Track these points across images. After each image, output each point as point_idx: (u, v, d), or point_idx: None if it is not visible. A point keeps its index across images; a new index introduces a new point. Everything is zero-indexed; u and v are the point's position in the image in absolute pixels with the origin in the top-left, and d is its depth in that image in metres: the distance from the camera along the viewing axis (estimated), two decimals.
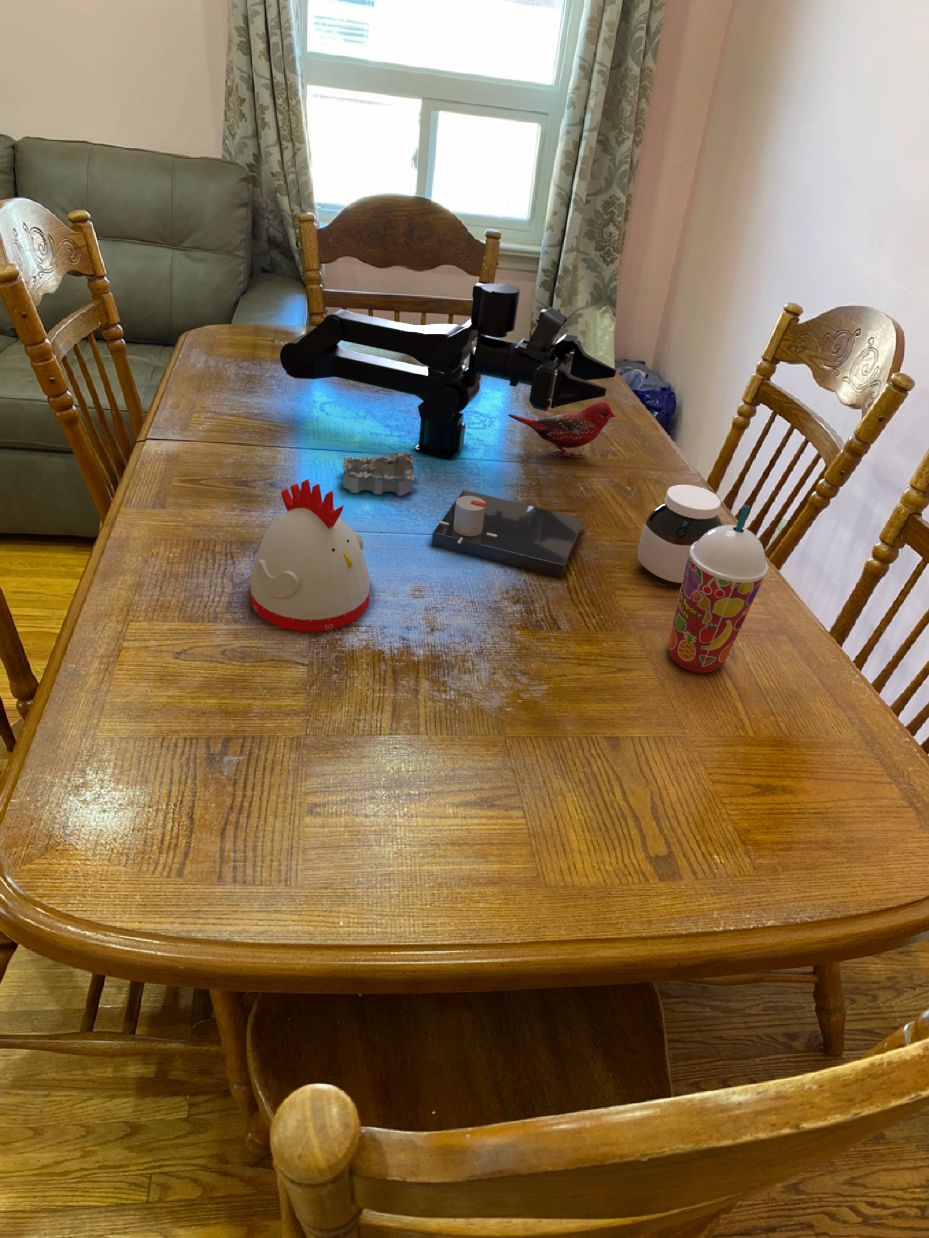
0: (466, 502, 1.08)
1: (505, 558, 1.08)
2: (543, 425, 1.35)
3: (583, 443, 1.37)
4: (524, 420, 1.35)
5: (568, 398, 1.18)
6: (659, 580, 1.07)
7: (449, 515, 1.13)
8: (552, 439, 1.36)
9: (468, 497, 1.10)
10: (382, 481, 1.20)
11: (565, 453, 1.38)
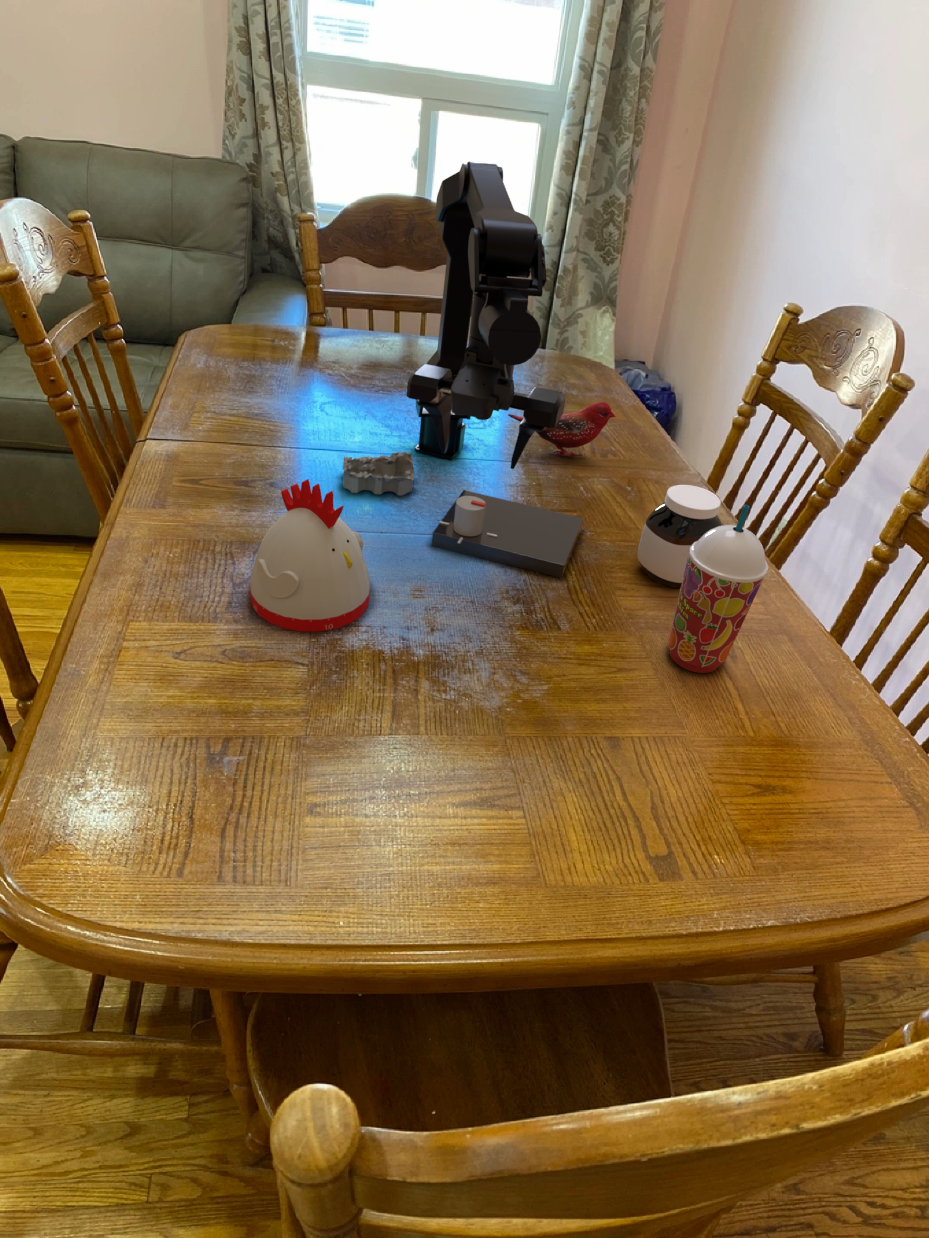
0: (466, 502, 1.08)
1: (505, 558, 1.08)
2: None
3: (583, 443, 1.37)
4: None
5: None
6: (659, 580, 1.07)
7: (449, 515, 1.13)
8: (552, 439, 1.36)
9: (468, 497, 1.10)
10: (382, 481, 1.20)
11: (565, 453, 1.38)
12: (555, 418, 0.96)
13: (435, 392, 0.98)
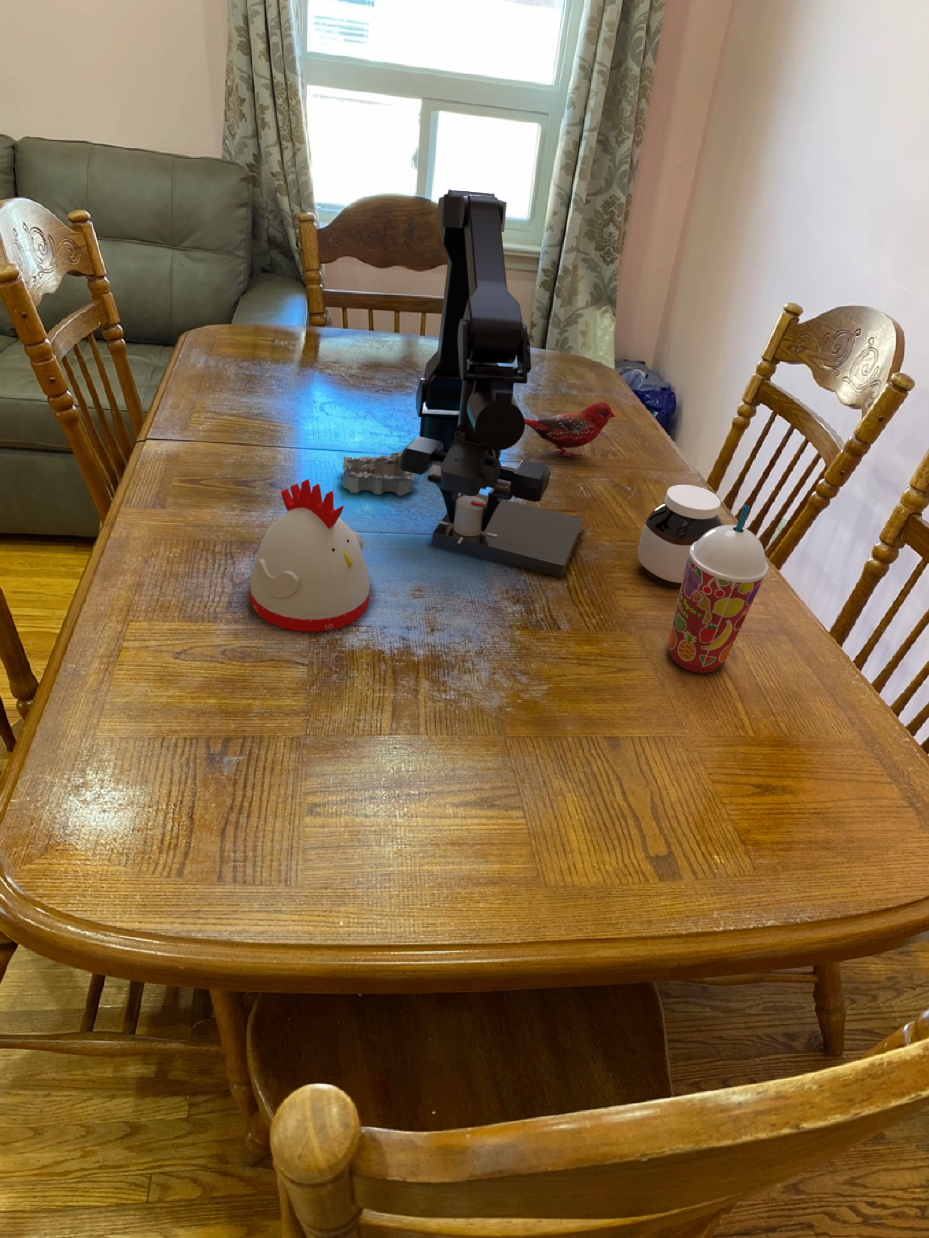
0: (466, 502, 1.08)
1: (505, 558, 1.08)
2: (543, 425, 1.35)
3: (583, 443, 1.37)
4: (524, 420, 1.35)
5: None
6: (659, 580, 1.07)
7: None
8: (552, 439, 1.36)
9: (468, 497, 1.10)
10: (382, 481, 1.20)
11: (565, 453, 1.38)
12: (540, 493, 1.02)
13: (427, 466, 1.04)
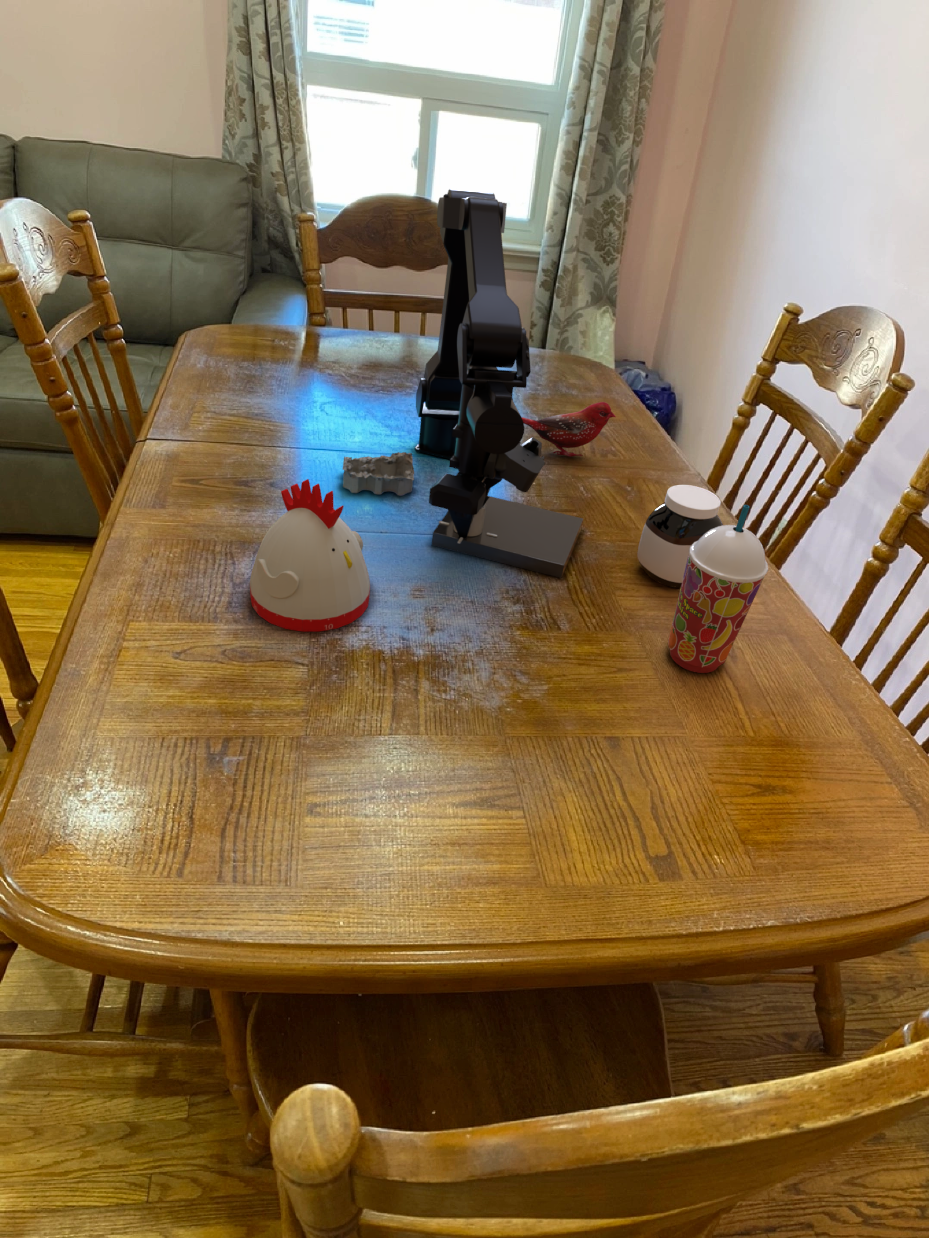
0: None
1: (505, 558, 1.08)
2: (543, 425, 1.35)
3: (583, 443, 1.37)
4: (524, 420, 1.35)
5: None
6: (659, 580, 1.07)
7: (449, 515, 1.13)
8: (552, 439, 1.36)
9: None
10: (382, 481, 1.20)
11: (565, 453, 1.38)
12: None
13: (485, 493, 1.01)
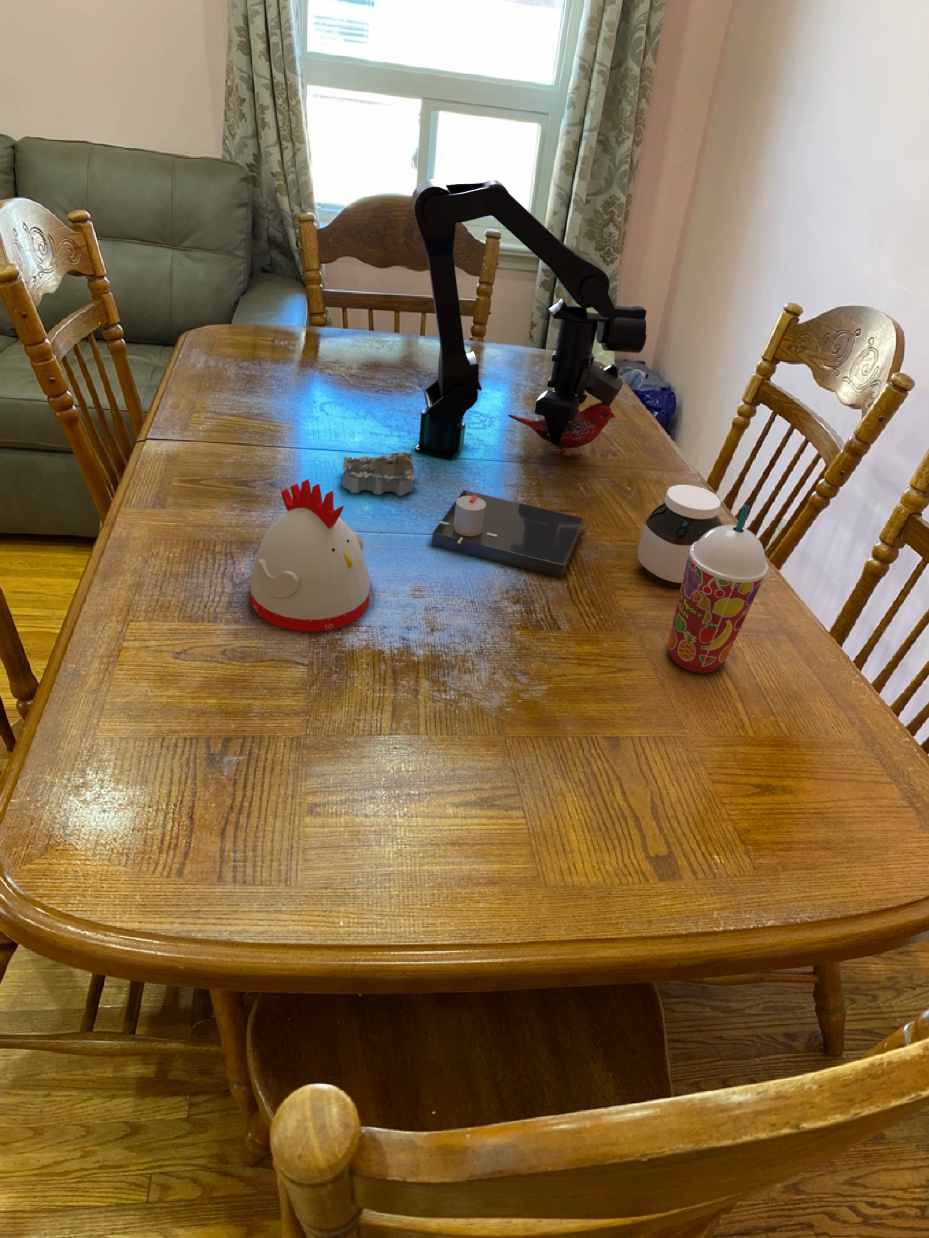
0: (472, 505, 1.08)
1: (505, 558, 1.08)
2: (543, 426, 1.35)
3: (583, 443, 1.36)
4: (524, 420, 1.35)
5: (549, 418, 1.32)
6: (659, 580, 1.07)
7: (449, 515, 1.13)
8: None
9: (460, 503, 1.08)
10: (382, 481, 1.20)
11: (565, 453, 1.38)
12: None
13: (578, 405, 1.27)
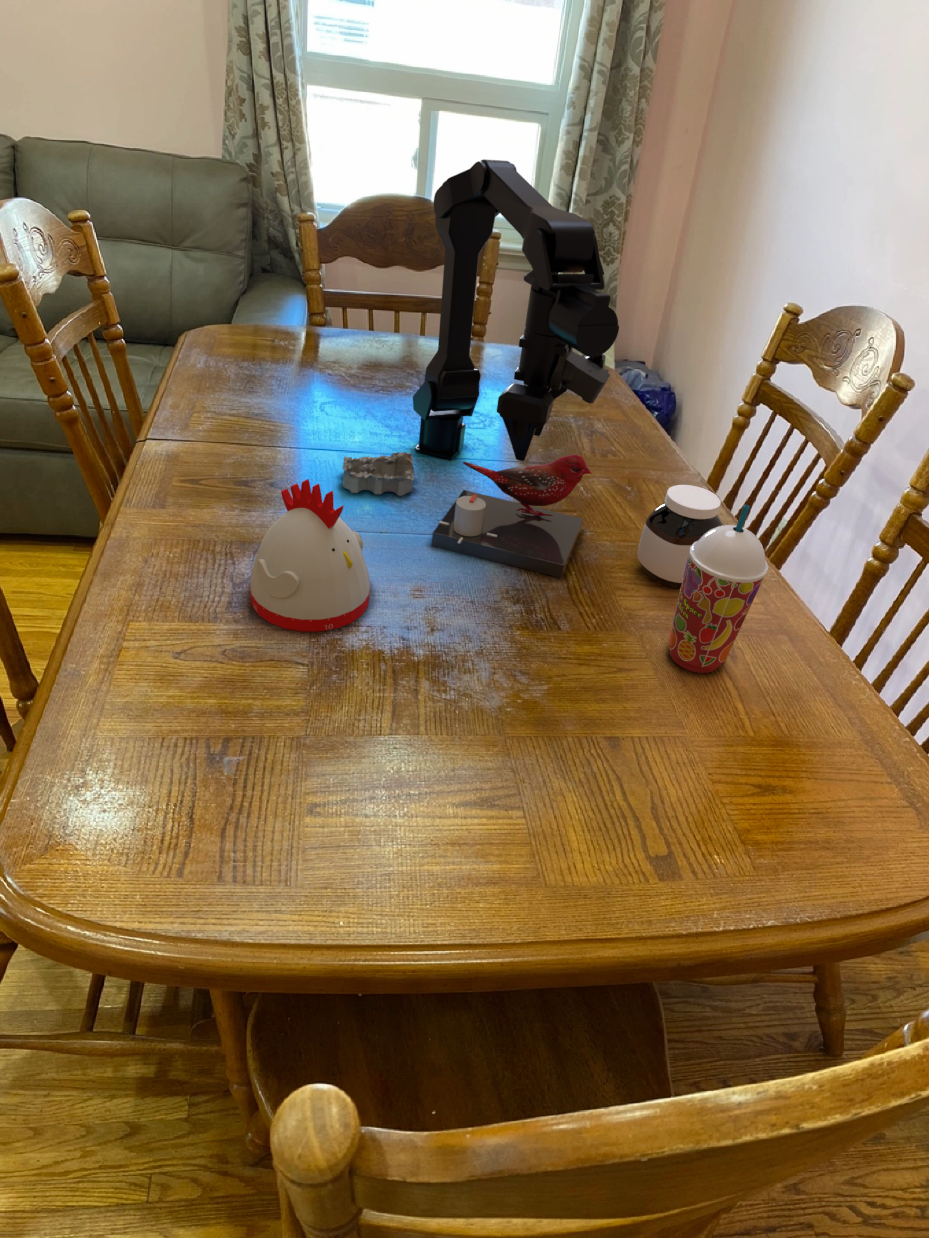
0: (472, 505, 1.08)
1: (505, 558, 1.08)
2: (503, 477, 1.13)
3: (551, 502, 1.13)
4: (481, 470, 1.13)
5: (511, 426, 1.03)
6: (659, 580, 1.07)
7: (449, 515, 1.13)
8: (514, 494, 1.14)
9: (460, 503, 1.08)
10: (382, 481, 1.20)
11: (531, 512, 1.16)
12: None
13: (552, 402, 1.00)
